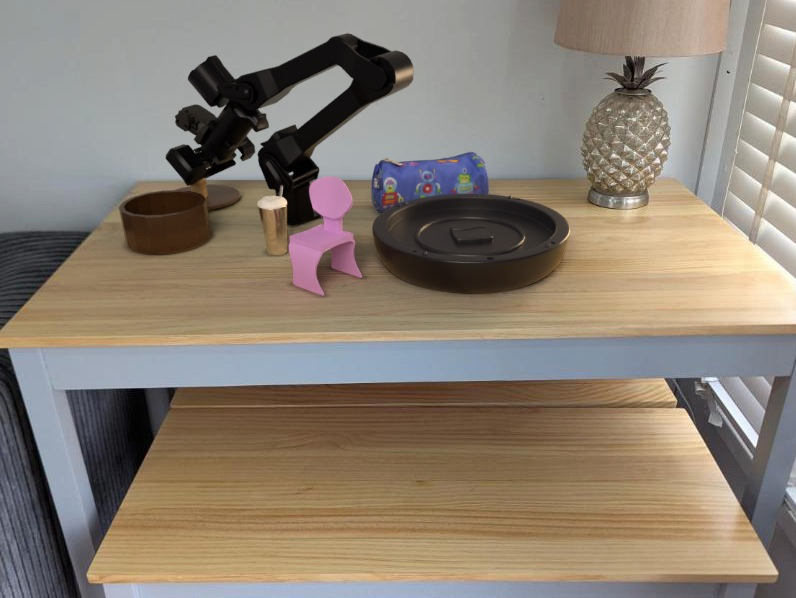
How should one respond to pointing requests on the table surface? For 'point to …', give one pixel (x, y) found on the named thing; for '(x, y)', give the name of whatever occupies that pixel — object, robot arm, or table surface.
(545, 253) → the round tray
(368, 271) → the table surface
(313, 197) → the toy chair
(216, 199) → the lid
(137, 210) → the bowl
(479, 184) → the pencil case
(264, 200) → the milkshake
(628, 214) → the table surface
